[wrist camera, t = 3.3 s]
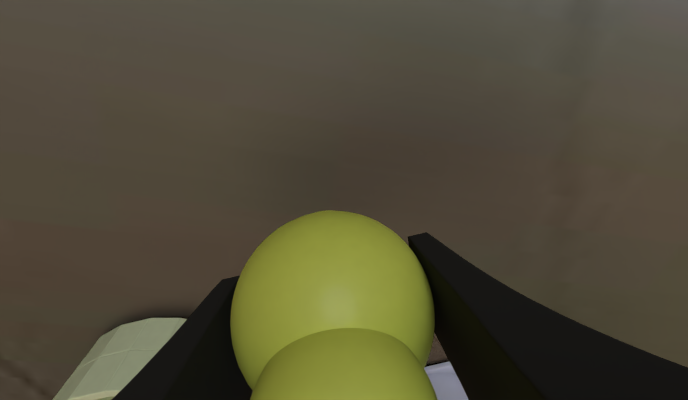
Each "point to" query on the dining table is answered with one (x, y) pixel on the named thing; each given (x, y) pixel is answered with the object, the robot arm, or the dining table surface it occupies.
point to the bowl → (118, 359)
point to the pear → (334, 313)
